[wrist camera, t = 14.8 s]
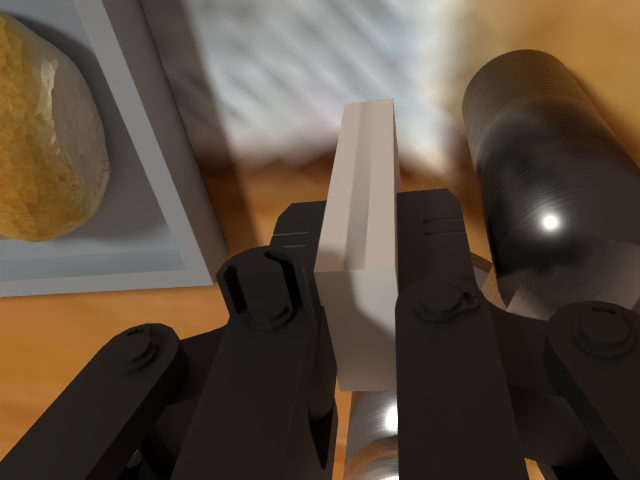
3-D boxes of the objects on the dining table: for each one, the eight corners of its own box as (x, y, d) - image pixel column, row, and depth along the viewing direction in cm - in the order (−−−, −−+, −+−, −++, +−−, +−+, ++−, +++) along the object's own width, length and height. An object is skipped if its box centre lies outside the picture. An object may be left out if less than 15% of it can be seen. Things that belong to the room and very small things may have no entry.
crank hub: (340, 384, 25) (322, 530, 20) (307, 250, 20) (271, 393, 15) (631, 381, 22) (703, 549, 17) (668, 226, 18) (781, 389, 12)
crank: (462, 390, 22) (482, 586, 16) (347, 365, 22) (326, 552, 17) (631, 69, 14) (798, 234, 8) (446, 31, 14) (474, 167, 8)
